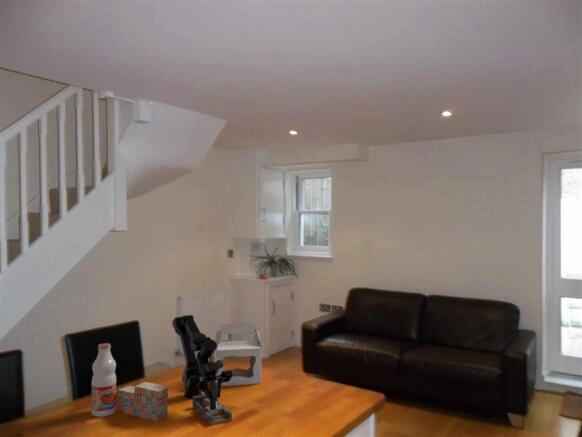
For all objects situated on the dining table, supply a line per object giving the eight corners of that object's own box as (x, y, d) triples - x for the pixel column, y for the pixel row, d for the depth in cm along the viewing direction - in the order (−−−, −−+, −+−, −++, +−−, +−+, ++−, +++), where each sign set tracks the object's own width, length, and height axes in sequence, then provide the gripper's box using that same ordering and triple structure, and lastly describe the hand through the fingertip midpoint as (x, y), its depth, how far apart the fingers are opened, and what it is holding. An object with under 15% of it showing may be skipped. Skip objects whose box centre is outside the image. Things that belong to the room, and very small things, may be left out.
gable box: (257, 375, 242) (258, 320, 242) (261, 383, 229) (262, 326, 229) (214, 377, 237) (214, 322, 237) (215, 386, 224) (216, 328, 224)
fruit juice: (102, 406, 199) (102, 340, 199) (120, 409, 196) (121, 342, 196) (86, 415, 190) (86, 346, 190) (105, 418, 187) (106, 348, 187)
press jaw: (204, 411, 191) (204, 379, 191) (218, 408, 194) (218, 377, 194) (209, 416, 186) (209, 383, 187) (223, 413, 190) (223, 380, 190)
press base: (192, 407, 199) (192, 396, 199) (212, 403, 204) (212, 392, 204) (210, 425, 181) (210, 413, 181) (231, 420, 186) (231, 409, 186)
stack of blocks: (117, 412, 194) (118, 382, 194) (129, 406, 199) (129, 377, 199) (157, 422, 184) (157, 391, 184) (168, 416, 190) (168, 386, 190)
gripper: (188, 356, 189) (198, 392, 179) (231, 350, 199) (242, 384, 189) (182, 371, 196) (191, 406, 186) (223, 364, 205) (234, 397, 196)
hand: (215, 398), depth 189 cm, fingers closed on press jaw, 3 cm apart
